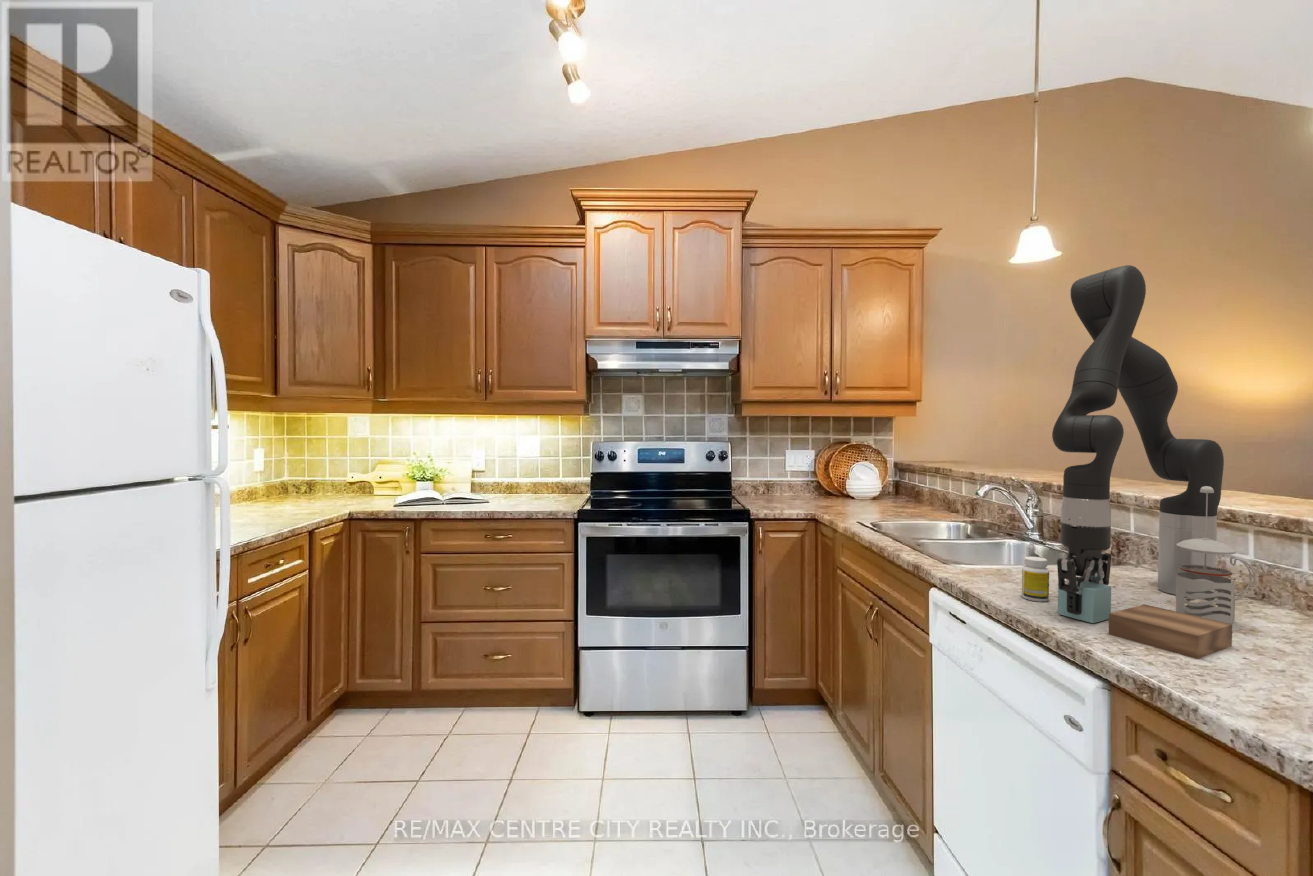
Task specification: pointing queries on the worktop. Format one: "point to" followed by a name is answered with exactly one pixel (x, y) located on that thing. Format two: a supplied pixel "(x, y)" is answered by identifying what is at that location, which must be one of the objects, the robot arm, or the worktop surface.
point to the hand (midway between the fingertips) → (1083, 610)
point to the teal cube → (1089, 603)
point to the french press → (1212, 574)
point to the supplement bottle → (1035, 579)
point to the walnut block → (1171, 630)
